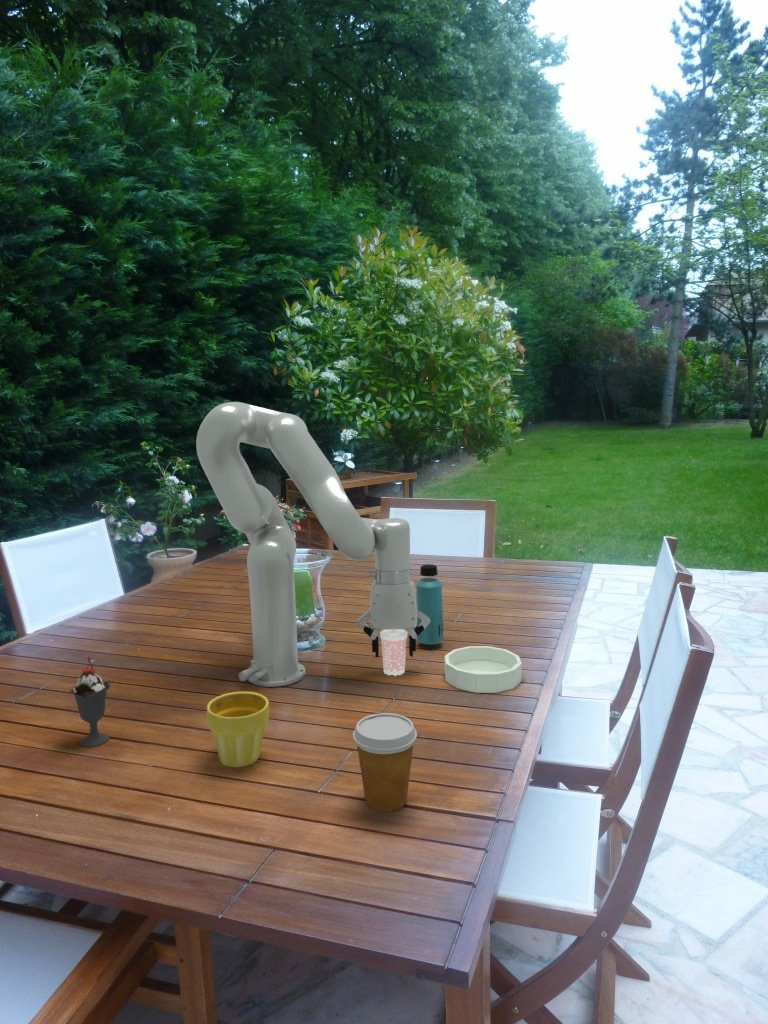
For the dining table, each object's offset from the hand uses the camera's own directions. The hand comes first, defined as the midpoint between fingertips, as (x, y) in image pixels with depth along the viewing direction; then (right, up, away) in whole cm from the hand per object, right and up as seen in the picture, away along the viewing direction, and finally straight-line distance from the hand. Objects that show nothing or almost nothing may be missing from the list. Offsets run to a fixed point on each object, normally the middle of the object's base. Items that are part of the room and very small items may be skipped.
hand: (394, 654), depth 156 cm
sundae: (-54, -10, -28) cm, 62 cm away
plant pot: (-27, -11, -35) cm, 45 cm away
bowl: (+19, -4, -3) cm, 20 cm away
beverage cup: (0, -4, +1) cm, 4 cm away
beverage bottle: (+9, -1, +16) cm, 18 cm away
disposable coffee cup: (-2, -13, -48) cm, 50 cm away
